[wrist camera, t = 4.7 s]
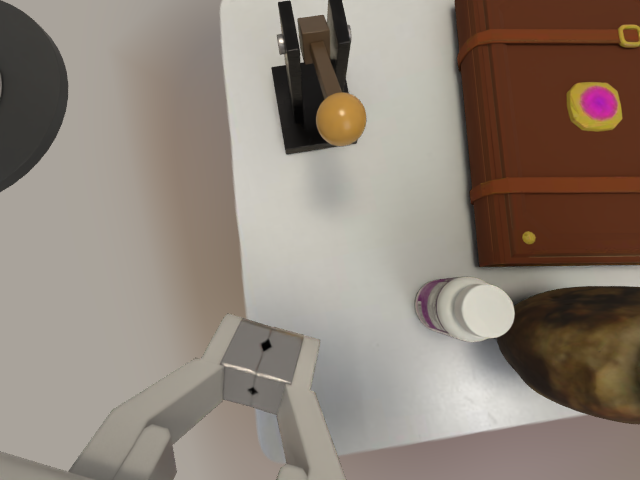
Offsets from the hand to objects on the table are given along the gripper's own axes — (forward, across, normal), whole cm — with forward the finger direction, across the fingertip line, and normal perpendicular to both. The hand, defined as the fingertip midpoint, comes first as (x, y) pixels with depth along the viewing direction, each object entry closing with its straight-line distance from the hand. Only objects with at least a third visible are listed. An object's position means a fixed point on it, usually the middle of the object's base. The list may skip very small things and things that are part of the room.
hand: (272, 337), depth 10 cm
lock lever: (+20, +2, -3) cm, 21 cm away
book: (+35, -23, -3) cm, 42 cm away
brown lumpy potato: (+19, -23, +14) cm, 33 cm away
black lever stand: (+32, +5, +1) cm, 32 cm away
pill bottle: (+19, -14, +14) cm, 27 cm away
